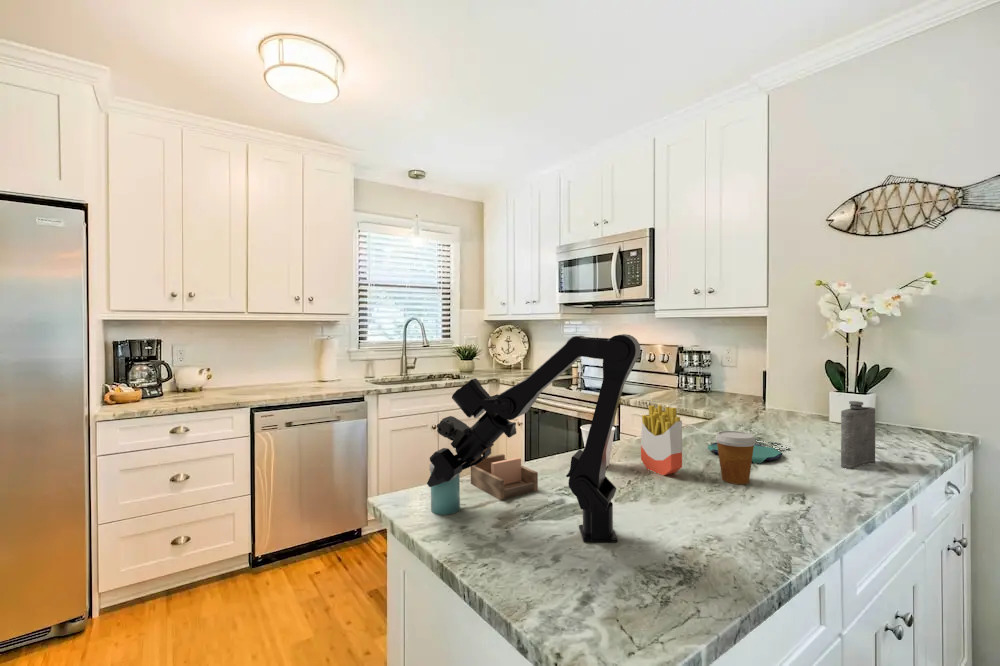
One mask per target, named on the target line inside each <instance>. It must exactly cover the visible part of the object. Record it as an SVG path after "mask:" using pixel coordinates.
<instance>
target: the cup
mask: <svg viewBox="0 0 1000 666" xmlns="http://www.w3.org/2000/svg"><path fill="white" fill-rule="evenodd" d="M590 427H591V423H590V424H589V423H588V424H583V425H581V426H580V429H581V434H582V435H581V436H582V440H583V444H584V445H583V446H584V448H585V445H586V442H587V438H588V434H589V430H590ZM615 431H616V427H615V426H613V427H612V430H611V434H610V438H609V441H608V445H607V449H606V468H608V467H609V466H610V461H611V454H612V448H613V442H614V435H615ZM607 466H608V467H607Z"/></svg>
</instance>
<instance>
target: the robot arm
mask: <svg viewBox="0 0 1000 666" xmlns="http://www.w3.org/2000/svg"><path fill="white" fill-rule="evenodd" d="M640 354H641V345H640V342H639V341H638V339H636V338H635V337H634V336H633V335H631V334H626V333H623V334H618V335H613V336H612V337H610V338H608V337H589V336H588V337H587V336H584V335H575V336H571V337H570V338H568V340H567V341H566V342H565V344H563V346H561V347H560V348H559V349H558V350H557V351H556V352H555V353H553V355H551V356H550V357H549V358H548V359H547V360H546V361H544V362H543V364H541V365H540V366H539V367H538V368H537V369H536V370H535V371H534V372H532V373H531V374H530V375H529V376H528V377H526V378H525V379H524V380H522V381H521V382H518V383H517V384H514V385H513V386H511V387H509V388H507V389H506V390H504V391H503V392H501V393H500V394H498V393H497V394H493V395H490V394H489V393H488V392H487V391H486V389H485V388H484V387H483V386H482V385H481V382H480V381H479V380H478V379H477V378H471V379H470V380H469V381H468V382H467V383H465V384H464V385H463V386H461V387H460V388H457V389H456V391H455V392H453V394H452V396H451V399H452V401H454V403H455V404H456V405H457V406H458V407H459V409H460V410H461V411H462V412H463V414H465V416H466V417H467V418H472V417H473V418H474V419H477V418H478V420H476V422H475V423H474V424H473V425H472V426H469V425H467V423H465V422H463V421H461V420H460V419H458V418H457V417H456V416H451V415H449V416H446V417H444V418H442V419H441V420H439V423H438V424H436V428H437V430H436V431H437V434H439V435H440V436H441V437H444V438H445V439H448V440H449V441H452V442H451V443H450V445H451V446H452V448H453V449H455V453H456V454H454V453H453V451H451V450H450V448H447V447H443V448H441V449H438V450H436V451H435V452H434V453H433V454H432V455H431V456H430V457H429V462H430V464H431V463H432V464H433V465H434V469H433V471H432V474H431V473H430V476H429V478H428V480H427V483H426V484H427V486H428V487H429V488H431V487H432V486H435V485H438V484H441V483H444V482H449V481H451V480H452V479H454V478H455V477H456V476H458V475H459V476H460V474H461V473H462V472H463V470H466V469H469V468H471V466H474V465H476V464H478V463H480V462H481V461H483V460H485V459H486V458H487V457H490V455H491V454H492V447H493V446H494V443H495V442H497V440H498V439H499V438H501V436H502V435H503V434H504V435H505V436H506V437H507V438H511V437H513V436H515V435H517V427H516V426H517V422H515V421H514V422H512V420H515V419H516V418H519V417H521V416H523V415H525V414H526V413H528V411H529V410H530V409H531V407H532V406H533V405H534V404H535V403H536V401H537V399H538V397H539V396H540V394H541V393H542V392H543V391H544V390H545V389H547V387H548V386H550V385H551V384H552V383H553V382H554V381H555V380H556V379H558V378H559V377H560V376H561V375H562V374H563V373H565V372H566V371H567V370H568V369H569V368H570V367H571V366H573V364H575V363H576V362H577V361H578V360H579V359H580V358H582V357H584V358H591V359H598V360H602V382H601V386H600V389H599V394H598V397H597V401H596V405H595V409H594V412H593V417H592V420H591V423H590V424H591V427H590V430H589V434H588V438H587V442H586V445H585V447H584V448H583V450H581V449H578V450H577V451H576V452H575V453H574V454H573V455H572V457H571V460H570V466H569V470H568V473H567V474H566V475H565V477H566V478H568V482H567V483H568V487H569V489H570V491H571V493H572V494H573V495H574V496H575V497H576V500H577V503H578V505H579V508H580V510H582V524H579V525H578V530H579V533H580V536H581V538H582V541H583V542H586V543H587V542H588V543H589V542H590V543H616V542H618V541H619V538H618V536H617V535H616V532H615V530H614V524H613V523H614V516H613V515H614V511H613V509H614V507H613V502H612V499H614V497H615V494H616V491H617V487H616V486H615V485H614V483H613V482H611V481H610V479H609V478H608V477H607V476H606V470H607V467H606V449H607V445H608V441H609V438H610V434H611V430H612V427H614V423H615V420H616V415H617V412H618V408H619V404H620V401H621V399H622V398H621V397H622V394H623V390H624V386H625V384H626V381H627V379H628V378H629V376H630V374H631V372H632V370H633V368H634V367H635V365H636V362H637V361H638V359H639V356H640ZM480 416H481V417H480Z"/></svg>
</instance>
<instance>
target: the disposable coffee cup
mask: <svg viewBox="0 0 1000 666" xmlns="http://www.w3.org/2000/svg"><path fill="white" fill-rule="evenodd" d="M714 439H715V441H716V442H715V443H717V446H718V453H717V454H718V459H719V460H718V461H719V468H720V475H721V480H722V481H723V480H724V482H725V483H728V484H733V485H747V484H748V483H750V476H751V471H752V469H751V468H752V464H753V462H752V456H753V448H754V445H755V444H757V443H756V440H755V439H756V438H755V435H754V434H752V433H750V432H745V431H740V430H720V431H717V432H716V436H715V437H714Z"/></svg>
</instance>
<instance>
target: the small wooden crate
mask: <svg viewBox="0 0 1000 666" xmlns="http://www.w3.org/2000/svg"><path fill="white" fill-rule="evenodd" d="M503 460H508V459H507V458H506V456H505V454H504V453H501V454H497V455H491V456H488V457H487V458H486V459H485V460H483V461H481V462H480V463H478V464H476V465H474V466H471V467H470V484H471V485H472V486H474V487H477V488H478V489H480V490H482V491H484V492H485V493H487V494H489V495H490V496H492V497H494V498H496V499H498V500H499V501H502V499H503V500H505V499H510V498H515V497H517V496H521V495H525V494H530V493H533V491H534V492H537V490H538V489H539V485H538V484H539V482H538V481H539V479H538V478H539V474H538V471H535V470H534V469H533V470H532V469H530V468H529V467H526V466H524V465H521V481H518V482H514V483H510V484H506V485H504V480H503V479H501V478H499V477H497V476H495V475H492V474H491V463H493V462H498V461H503ZM538 491H539V490H538ZM529 492H530V493H529Z"/></svg>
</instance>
